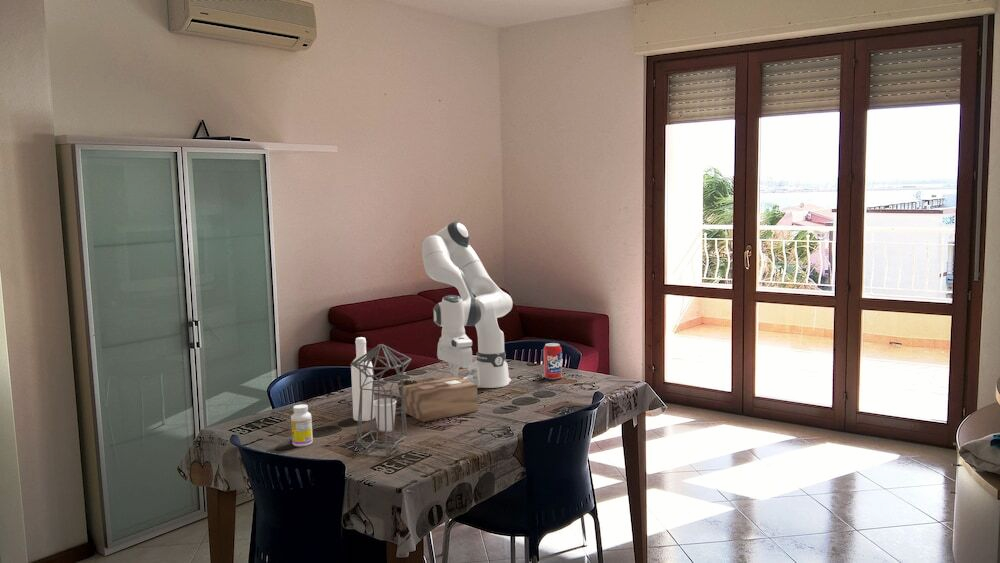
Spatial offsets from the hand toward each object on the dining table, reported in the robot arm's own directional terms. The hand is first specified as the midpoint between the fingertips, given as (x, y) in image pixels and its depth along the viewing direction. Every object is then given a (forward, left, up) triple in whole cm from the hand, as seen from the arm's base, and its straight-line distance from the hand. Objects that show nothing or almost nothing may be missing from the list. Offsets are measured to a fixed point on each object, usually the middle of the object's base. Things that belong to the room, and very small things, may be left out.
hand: (454, 375), depth 292 cm
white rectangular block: (0, -1, -12) cm, 12 cm away
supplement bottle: (+6, -61, -13) cm, 63 cm away
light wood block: (0, -6, -13) cm, 15 cm away
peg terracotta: (0, -12, -12) cm, 17 cm away
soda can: (-16, +58, -13) cm, 62 cm away
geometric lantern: (+30, -42, -13) cm, 53 cm away
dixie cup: (+8, -32, -13) cm, 35 cm away
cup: (-20, -10, -13) cm, 26 cm away
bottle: (-9, -33, -13) cm, 37 cm away
